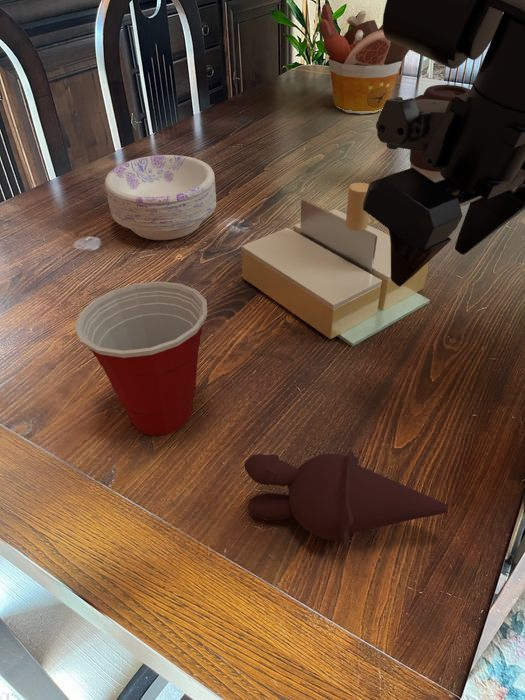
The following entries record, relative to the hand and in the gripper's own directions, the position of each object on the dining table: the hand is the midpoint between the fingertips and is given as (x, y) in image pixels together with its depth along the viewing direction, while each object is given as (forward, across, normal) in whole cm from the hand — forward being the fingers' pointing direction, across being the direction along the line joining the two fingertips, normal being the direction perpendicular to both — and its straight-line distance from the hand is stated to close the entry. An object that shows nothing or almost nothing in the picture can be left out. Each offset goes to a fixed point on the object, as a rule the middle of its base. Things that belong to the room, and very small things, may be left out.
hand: (429, 266), depth 50 cm
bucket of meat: (+23, -61, -60) cm, 89 cm away
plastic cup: (+15, +23, -8) cm, 28 cm away
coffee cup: (+16, -38, -23) cm, 47 cm away
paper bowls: (+21, +2, -39) cm, 45 cm away
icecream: (+11, +18, +11) cm, 24 cm away
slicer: (+11, -4, -14) cm, 18 cm away
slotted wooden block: (+15, -5, -13) cm, 20 cm away
